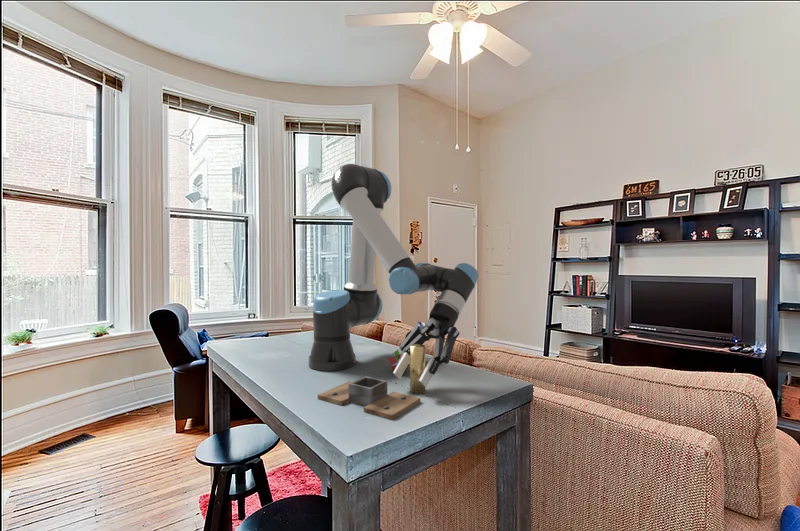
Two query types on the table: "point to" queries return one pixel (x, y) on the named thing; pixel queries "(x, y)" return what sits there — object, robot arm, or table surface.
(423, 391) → the gold knob
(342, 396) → the brown flat wooden board
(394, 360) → the geometric puzzle
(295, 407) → the table surface
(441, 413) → the table surface
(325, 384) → the table surface
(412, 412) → the table surface
